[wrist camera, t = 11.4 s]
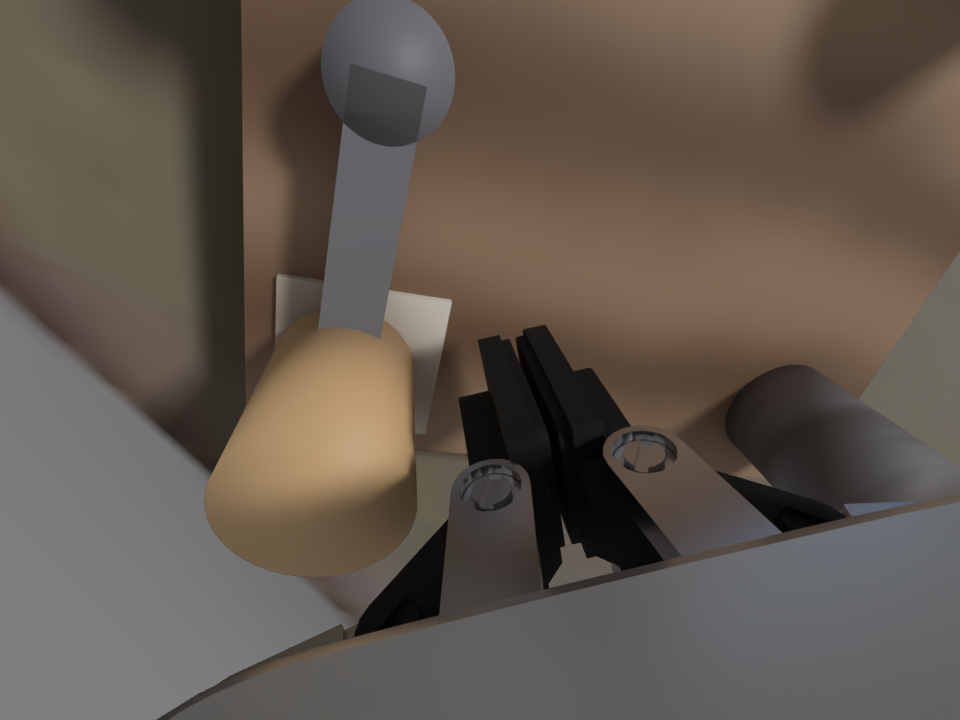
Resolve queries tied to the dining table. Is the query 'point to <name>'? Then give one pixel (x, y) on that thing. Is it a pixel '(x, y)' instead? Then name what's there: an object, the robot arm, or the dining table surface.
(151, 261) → the dining table surface
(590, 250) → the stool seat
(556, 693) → the robot arm
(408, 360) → the hinged leg
